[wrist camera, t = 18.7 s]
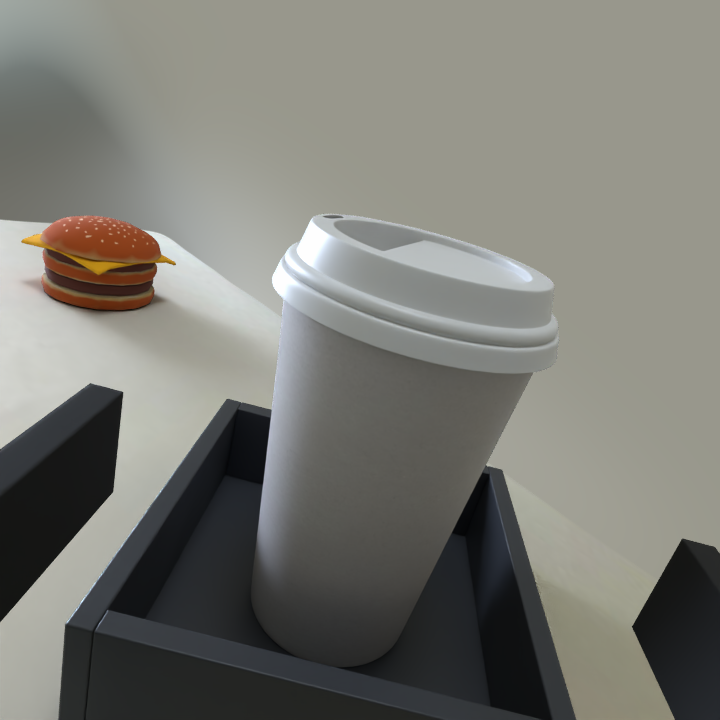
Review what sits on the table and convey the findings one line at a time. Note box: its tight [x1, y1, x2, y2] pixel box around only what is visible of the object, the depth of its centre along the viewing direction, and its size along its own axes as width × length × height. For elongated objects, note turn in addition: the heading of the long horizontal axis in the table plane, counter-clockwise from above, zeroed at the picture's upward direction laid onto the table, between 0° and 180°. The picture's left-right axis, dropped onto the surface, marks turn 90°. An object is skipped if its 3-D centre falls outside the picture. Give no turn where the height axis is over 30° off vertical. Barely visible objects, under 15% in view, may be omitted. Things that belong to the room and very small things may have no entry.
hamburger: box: [21, 216, 176, 310], centre depth 49 cm, size 9×10×7 cm
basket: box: [58, 399, 576, 720], centre depth 23 cm, size 15×15×5 cm
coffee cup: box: [251, 214, 559, 667], centre depth 21 cm, size 10×10×15 cm
